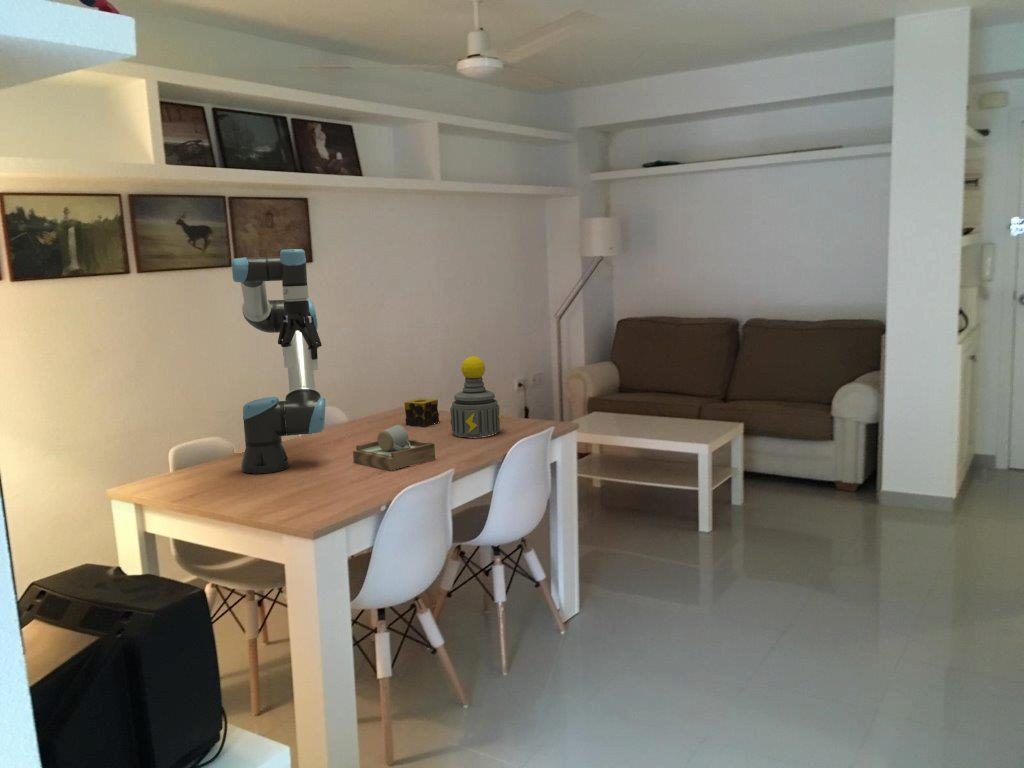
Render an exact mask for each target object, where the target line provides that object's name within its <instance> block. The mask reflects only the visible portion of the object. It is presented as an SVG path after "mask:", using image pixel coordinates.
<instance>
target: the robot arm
mask: <svg viewBox="0 0 1024 768" xmlns="http://www.w3.org/2000/svg"><path fill="white" fill-rule="evenodd" d="M231 273H232V280H233V282H235V283H240V287H241V292H242V297H243V304H242V309H241V310H242V315H243V317H244V319H245V320H246V321H247V324H249V325H251V326H252V327H253V328H255V329H256V330H258V331H261V332H264V333H270V334H271V333H272V334H273V333H274V334H276V333H278V339H277V345H280V346H281V348H282V356H283V364H284V365H283V366H284V369H286V368H287V374H288V375H287V378H288V387H289V390H288V391H289V392H288V393H287V394H286V395H285V400H280V399H279V397H278V396H267V397H263V398H262V397H261V398H257V399H254V400H250V401H249V402H246V403H245V404H244V405H243V407H242V420H243V429H244V430H243V432H244V441H245V445H244V446H245V448H244V452H243V458H242V461H241V471H242V472H243V473H244V472H246V473H245V474H249V473H253V475H255V474H257V475H260V474H261V473H264V474H271V473H277V472H282V471H284V470H286V469H288V468H289V467H290V461H289V457H288V455H287V453H286V450H285V448H284V446H283V440H282V437H285V436H286V437H287V436H298V435H312V434H318V433H322V432H324V430H325V422H326V398H325V397H322V396H321V393H320V392H319V391H318V390H316V381H315V374H314V373H315V372H314V371H317V370H319V364H318V363H319V362H318V349H319V348H320V347H322V341H321V339H320V336H319V332H318V331H317V330H318V318H317V313H316V309H315V305H314V302H313V301H312V300H311V299H309V288H308V287H309V286H308V275H307V274H308V271H307V258H306V252H305V250H304V249H303V248H299V249H298V248H297V249H296V248H295V249H281V250H280V253H279V256H261V257H259V256H257V257H245V256H244V257H236V258H233V259H232V260H231ZM275 281H277V282H279V281H281V282H282V285H281V286H282V296H283V297H282V299H273V300H272V299H268V296H267V288H266V286H267V285H266V282H275ZM261 475H262V474H261Z"/></svg>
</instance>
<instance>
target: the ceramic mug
mask: <svg viewBox="0 0 1024 768" xmlns="http://www.w3.org/2000/svg"><path fill="white" fill-rule="evenodd" d="M377 435H378V436H377V439H376V441H378V444H379V446H380V448H381V449H382V450H384V451H392V450H395V449H396V450H398V451H401V450H405V449H409V448H410V447H411V445H410V443H409V442H408V439H409V433H408V432H407V430H406V428H404V426H402V425H400V424H396V425H394V426H391V427H389V428H385V429H383V430H382V431H380V432H379V433H378V434H377ZM406 445H407V446H408V447H407V448H402V447H404V446H406Z"/></svg>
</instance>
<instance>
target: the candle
mask: <svg viewBox="0 0 1024 768" xmlns="http://www.w3.org/2000/svg"><path fill="white" fill-rule="evenodd" d="M438 399H439V398H438ZM438 399H435V398H434V399H433V398H415V399H411V400H407V401H405V402H404V412H405V413H404V414H405V425H406V426H407V425H410V426H409V427H417V426H421V427H420V428H427V427H430V426H429V425H431V426H433V425H435V424H434V423H437V424H439V423H440V413H439V409H438V405H439V403H438V402H439V401H438ZM438 422H439V423H438ZM432 424H433V425H432ZM426 426H427V427H426Z"/></svg>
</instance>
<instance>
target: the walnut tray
mask: <svg viewBox="0 0 1024 768" xmlns="http://www.w3.org/2000/svg"><path fill="white" fill-rule="evenodd" d="M408 442H409V443H410V445H411V447H410V448H409V449H405V450H401V451H398V450H396V449H395V450H392V451H384V450H382V449H381V448H380V446H379V444H378V440H374V441H371V442H367V443H363V444H358V445H356V446H355V450H353V451H352V456H353V457H352V458H353V463H354V462H355V464H358V463H359V465H362V464H363V466H368V467H371V466H372V467H373V468H375V467H377V468H376V469H380V468H381V469H380V470H384V469H386V470H385V471H389V470H390V472H393V471H392V470H394V471H397V470H396V469H398V470H400V469H399V468H402V469H404V468H403V467H405V468H407V467H406V466H409V467H411V466H410V465H413V466H415V465H414V464H417V465H419V464H418V463H420V464H423V463H422V462H424V463H428V462H431V461H435V460H436V446H435V443H433V442H428V441H424V440H417V439H411V438H408ZM407 447H408V446H407V445H406V446H404V447H402V448H407ZM427 461H428V462H427Z"/></svg>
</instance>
